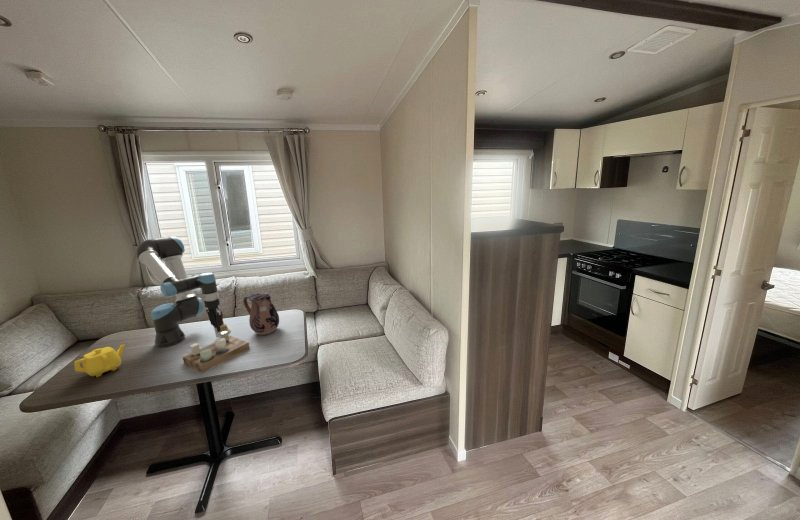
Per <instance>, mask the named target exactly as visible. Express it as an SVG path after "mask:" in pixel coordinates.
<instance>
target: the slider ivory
mask: <svg viewBox="0 0 800 520" xmlns="http://www.w3.org/2000/svg"><path fill="white" fill-rule="evenodd" d="M200 349H201V348H200V345H199V343H197V342H194V343H193V344H191V345H189V350H190V353H192V355H197V354H199V353H200Z"/></svg>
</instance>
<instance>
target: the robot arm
mask: <svg viewBox="0 0 800 520" xmlns="http://www.w3.org/2000/svg"><path fill="white" fill-rule="evenodd" d="M185 251H186V249H185V245H184V243H183V241H182V240H181V238H179V237H178V236H165V237H158V238H149V239H145V240H143V241H142V242H141V243H139V244H138V245H137V248H136V250H135V255H136V256H135V257H136V258H137V260H138V261H139V262H140V263H141V264H143V265H145V266H146V267H147V269H148V270H149V271H150V272H151V274H152V275H153V276H154V277H155V278H156V279H157V280H158V281H159V283H160V284H161V285H160V286H159V287H160V291H161V294H162V295H163V296H164V297H169V296H170V297H171V296H176V299H175V304H174V303H172V302H168V303H164V304H161V305H158V306H156V307H155V308H153V309H152V310H151V312H150V314H151V315H150V316H151V320H152V324H153V327H154V331H155V336H154V337H155V338H154V346H155V347H156V348H169V347H171V346H174V345H178V344H180V343H182V342H183V341H184V340H185V339H186V334H185V333H184V331H183V330H182V329H181V327H180V325H179V323H181V322H183V321H187V320H189V319H193V318H196V317H198V316H200V315H202V314H203V313H204V308H206V309H205V312H206V313H207V316H208V319H209V322H210V324H211V326H212V327H213V330H214V334H215V337H216V339H219V338H220V333H221V328H220V326H222V314H223V311H219V310H220V308H219V305H220V304H221V302H220V298H219V297H220V295H219V291H218V287H217V281H216V280H217V279H216V276H215V274H214V272H203V273H201V274H198V273H197V274H196V273H195V274H192V275H190V276H189V277H188V276H187V272H186V269H185V266H184V263H183V261H182V258H183V256H184V255H183V254H184V252H185ZM197 289H200V290H201V295H202V296H201V297H202V298H203V300H202V298H201V297H197V294H195V293H193V290H197ZM203 301H204V302H203Z"/></svg>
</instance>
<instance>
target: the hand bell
mask: <svg viewBox="0 0 800 520" xmlns="http://www.w3.org/2000/svg"><path fill="white" fill-rule="evenodd" d="M219 311H221V309H219ZM220 328H221V332H223V331H226V332H228V335H229V334H230V333H231V332H232V330H231V329H229V328H228V326H227V324H226V323H224V314H223V313H222V326H220Z"/></svg>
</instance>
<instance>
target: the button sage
mask: <svg viewBox="0 0 800 520" xmlns="http://www.w3.org/2000/svg"><path fill="white" fill-rule="evenodd" d="M200 356H201V360H202V361H206V360H209V359H211V358H212V357H213V356H212V352H211V349H205V350H202V351H201V352H200Z"/></svg>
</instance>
